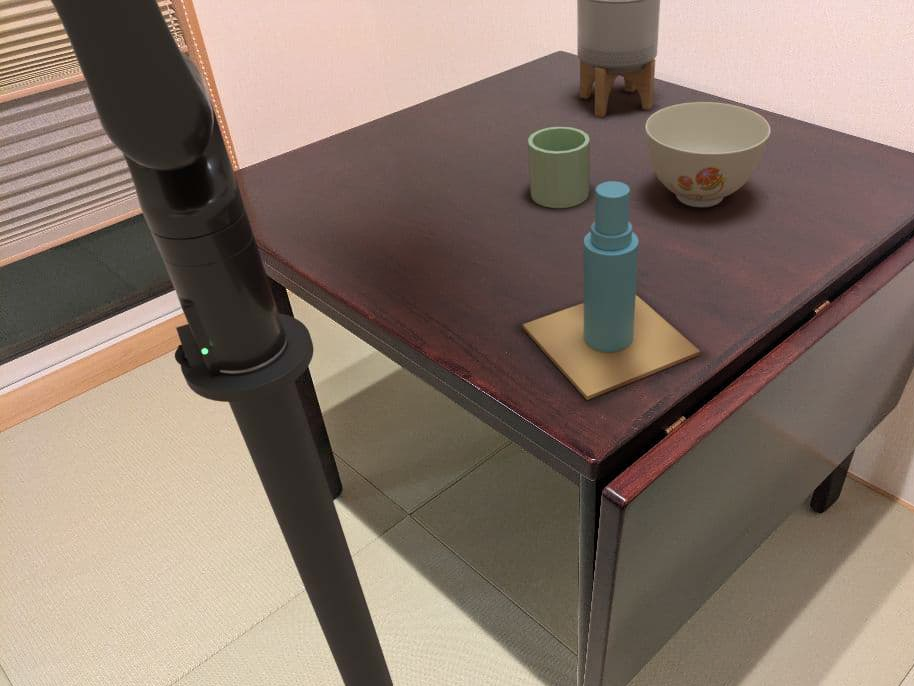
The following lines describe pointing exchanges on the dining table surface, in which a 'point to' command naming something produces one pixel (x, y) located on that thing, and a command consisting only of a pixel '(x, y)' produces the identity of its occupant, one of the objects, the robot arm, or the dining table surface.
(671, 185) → the bowl
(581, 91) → the planter
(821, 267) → the dining table surface
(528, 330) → the cork mat
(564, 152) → the holder
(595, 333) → the bottle
